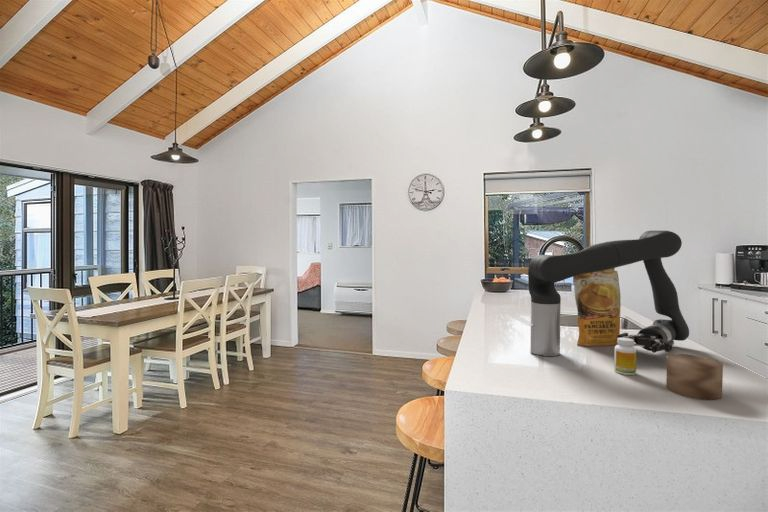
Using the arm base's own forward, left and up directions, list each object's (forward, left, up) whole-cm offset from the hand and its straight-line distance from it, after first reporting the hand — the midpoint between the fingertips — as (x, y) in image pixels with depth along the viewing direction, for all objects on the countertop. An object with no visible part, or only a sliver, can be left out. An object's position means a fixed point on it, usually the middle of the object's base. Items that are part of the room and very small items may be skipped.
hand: (636, 346), depth 117 cm
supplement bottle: (-5, -8, -6) cm, 11 cm away
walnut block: (+8, -18, -6) cm, 21 cm away
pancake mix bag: (-7, +23, -6) cm, 25 cm away
